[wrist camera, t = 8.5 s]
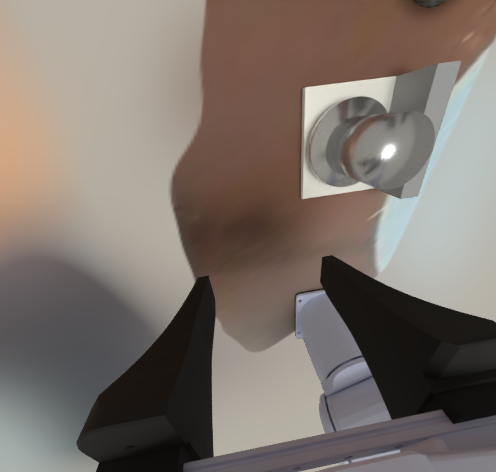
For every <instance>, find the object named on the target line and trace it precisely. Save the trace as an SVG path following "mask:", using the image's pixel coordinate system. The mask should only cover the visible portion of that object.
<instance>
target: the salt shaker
mask: <svg viewBox="0 0 496 472" xmlns="http://www.w3.org/2000/svg"><path fill="white" fill-rule="evenodd" d="M414 1H415V2H417V3H418V4H419V5H420V6H424V7H434V6H438V5H440V4H442V3H444V2H446V1H447V0H414Z"/></svg>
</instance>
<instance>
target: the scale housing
mask: <svg viewBox="0 0 496 472" xmlns="http://www.w3.org/2000/svg"><path fill="white" fill-rule="evenodd" d="M460 64H461V61H455V62H447V63H438V64H435V65H432V66H428V67H425V68H422V69H418V70H415V71H412V72H408V73H405V74H402V75H398V76H393V77H385V78H377V79H369V80H361V81H353V82H345V83H337V84H329V85H321V86H313V87H305V88H303V89H302V143H301V198H302V199H306V198H313V197H320V196H326V195H333V194H339V193H346V192H353V191H359V190H366V189H372V188H374V189H377V190H379V191H382V192H384V193H387V194H389V195H392V196H394V197H397V198H400V199H402V198H409V197H415V196H418V194H419V191H420V188H421V185H422V182H423V179H424V175H425V172H426V169H427V166H428V163H429V160H430V157H431V154H432V152H431V154H430V157H429V158H428V160H427V162H426V164H425V165H424V166H423V168H422V169H421V170H420V171H419V172H418V174H417V175H416V176H414V177H413V178H412V179H411V180H410V181H408V182H407V183H405V184H403V185H401V186H399V187H397V188H393V189H387V190H383V189H378V188H375V187H373V186H370V185H367V184H365V183H362V182H358V183H356V184H354V185H351V186H347V187H335V186H331V185H328V184H326V183H324V182H323V181H321V180H319V179H318V178H317V177H316V176H315V175H314V173H313V172H312V170H311V168H310V165H309V162H308V153H307V150H308V143H309V138H310V135H311V132H312V130H313V128H314V126H315V124H316V123H317V121H318V120H319V118H320V117H321V116H322V115H323V114H324V112H325V111H327V110H328V109H329V108H330V107H331V106H333V105H334V104H336V103H338V102H340V101H342V100H345V99H349V98H353V97H359V96H365V97H370V98H373V99H375V100H377V101H379V102H380V103H381V104H382V105H383V106H384V107H385V109H386V110H387V112H388V113H396V112H407V111H417V112H421V113H424V114H425V115H427V116H428V117H429V118H430V120H431V121H432V123H433V126H434V130H435V141H436V138H437V135H438V132H439V129H440V126H441V123H442V120H443V117H444V114H445V111H446V107H447V104H448V101H449V98H450V95H451V92H452V89H453V86H454V83H455V80H456V76H457V73H458V70H459V67H460ZM435 141H434V145H435ZM433 148H434V146H433ZM432 151H433V149H432Z"/></svg>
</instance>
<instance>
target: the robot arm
mask: <svg viewBox="0 0 496 472" xmlns="http://www.w3.org/2000/svg"><path fill="white" fill-rule="evenodd" d="M320 282H321V284H322V286H323V289H324V290H319V291H313V292H307V293H301V294H298V295H296V330H295V333H296V334H295V336H296V338H297V339H300V338H303V340H304V342H305V345H306V347H307V350H308V353H309V355H310V358H311V361H312V363H313V366H314V368H315V371H316V373H317V376H318V378H319V379H320V381H321V385H322V388H323V390H324V394H322V395H321V396H320V403H319V413H320V418H321V421H322V425H323V428H324V431H325V434H322V435H317V436H312V437H307V438H302V439H298V440H293V441H288V442H283V443H279V444H274V445H269V446H264V447H259V448H255V449H250V450H245V451H241V452H235V453H231V454H226V455H221V456H217V457H214V456H213V429H212V348H213V337H214V326H215V297H214V294H213V290H212V287H211V283H210V279H209V276H204V277H199V278H198V279H197V281H196V282H195V284H194V286H193V288H192V290H191V292H190V293H189V295H188V297H187V298H186V300H185V302H184V303H183V305H182V307H181V308H180V310H179V311H178V313H177V314H176V316H175V317H174V319H173V320H172V321H171V323H170V324H169V325H168V327H167V328H166V329H165V331H164V332H163V333H162V334H161V335H160V337H159V338H158V339H157V340H156V341H155V342H154V343H153V345H152V346H151V347H150V348H149V349H148V350H147V351H146V352H145V354H143V355H142V356H141V358H140V359H138V360H137V361H136V362H135V364H133V365H132V366H131V367H130V368H129V369H128V370H127V371H126V372H125V373H124V374H123V375H122V376H121V377H119V378H118V379H117V380H116V381H115V382H114V383H112V384H111V385H110V386H109V387H108V388H107V389H106V390H105V391H103V392H102V393H101V394H100V395H99V396H98V398H97V400H96V402H95V404H94V405H93V407H92V409H91V412H90V414H89V416H88V418H87V420H86V423H85V425H84V427H83V429H82V431H81V434H80V436H79V438H78V440H77V446H78V449H79V450H80V451H81V452H83V453H85V454H86V455H88V456H89V457H91V458H92V459H94V460H96V461H98V462H99V465H98V468H97V471H96V472H299V471H303V470H308V469H313V468H317V467H322V466H326V465H331V464H336V463H339V466H335V467H331V468H327V469H323V470H320V471H316V472H496V322H494V321H492V320H488V319H485V318H481V317H477V316H473V315H469V314H466V313H462V312H458V311H455V310H451V309H448V308H445V307H442V306H439V305H435V304H432V303H429V302H427V301H424V300H421V299H418V298H416V297H413V296H410V295H408V294H405V293H403V292H401V291H398V290H396V289H393V288H391V287H389V286H387V285H385V284H383V283H381V282H379V281H377V280H375V279H373V278H371V277H369V276H367V275H365V274H364V273H362V272H360V271H358V270H356V269H355V268H353V267H351V266H350V265H348V264H346V263H344V262H343V261H341V260H339V259H338V258H336V257H334V256H332V255H331V256H325V257H322V267H321V278H320Z"/></svg>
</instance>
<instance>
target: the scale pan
mask: <svg viewBox="0 0 496 472" xmlns="http://www.w3.org/2000/svg"><path fill="white" fill-rule="evenodd" d="M385 113H388V112H387V110H386V109H385V107H384V106H383V105H382V104H381V103H380V102H379V101H377V100H375V99H373V98H370V97H365V96H359V97H353V98H349V99H345V100H342V101H340V102H338V103H336V104H334V105H333V106H331V107H330V108H329V109H328V110H327V111H325V112H324V114H323V115H322V116H321V117H320V118H319V120H318V121H317V123H316V124H315V126H314V128H313V130H312V132H311V135H310V138H309V143H308V150H307V153H308V162H309V165H310V168H311V170H312V172H313V173H314V175H315V176H316V177H317V178H318V179H319V180H321V181H323V182H324V183H326V184H328V185H331V186H335V187H347V186H351V185H354V184H356V183H358V182H360V181H357V180H354V179H352V178H349V177H347V176H344V175H341V174H339V173H336V172H335V171H333V170H332V169H331V168H330V167H329V165H328V163H327V160H326V146H327V142H328V139H329V137H330V135H331V133H332V132H333V130H334V129H335V128H336V127H337V126H338V125H339V124H340V123H341V122H343V121H344V120H346V119H348V118H350V117H354V116H364V115H374V114H385Z"/></svg>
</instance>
